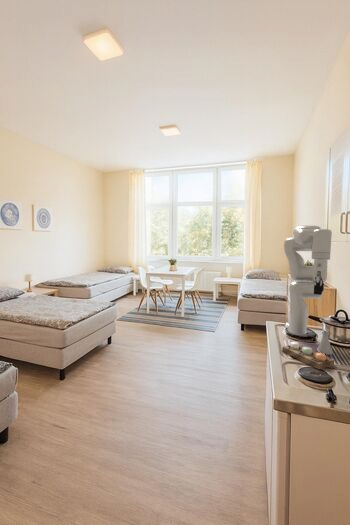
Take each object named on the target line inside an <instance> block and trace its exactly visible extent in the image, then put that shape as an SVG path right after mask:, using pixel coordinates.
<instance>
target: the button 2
mask: <svg viewBox="0 0 350 525" xmlns="http://www.w3.org/2000/svg"><path fill="white" fill-rule="evenodd" d="M312 350H313V349H312V348H311V347H308V346H303V348H302V353H303V354H305V355H307V356H309V355H312Z"/></svg>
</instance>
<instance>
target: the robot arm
mask: <svg viewBox="0 0 350 525" xmlns="http://www.w3.org/2000/svg"><path fill="white" fill-rule="evenodd" d="M293 236H294V237H288V238H286V239H285V240H284V243H283V249H284V253H285V256H286V258H287V261H288V266H289V275H290V278H291V280H292V281H293V282H291V283H290V285H289V286H288V287H289V288H288V290H289V299H290V302H289V319H288V320H289V321H288V323H285V324H284V328H287V330H289V331H290V332H292V333H294V334H301V335H303V334H306V333H308V314H309V304H308V303H307V302H306V300H305V299H311V300H313V299H314V300H317V299H319V300H320V299H321V298H322V297H323V295H324V288H325V283H324V282H326V281H327V280H328V260H329V261H330V260H331V251H332V250H331V248H332V230H331V229H329V228H324V229H323V228H321V227H320V226H319V225H299V226H298V225H297V227H295V228H294V230H293ZM299 252H311V259H312V260H313V265H306V264H305V260H304V257H303V256H302V255H301V254H300V253H299Z"/></svg>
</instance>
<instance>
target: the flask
mask: <svg viewBox="0 0 350 525" xmlns="http://www.w3.org/2000/svg"><path fill="white" fill-rule="evenodd" d="M321 334H322V336H321V337H322V338H321V339H320V342H319V344H318V346H317V348H318V350H319V351H320V352H321V353H324V354H326V356H330V355H331V356H333V350H332V346H331V343H330V340H329V335H330V332H327V331H322V332H321Z"/></svg>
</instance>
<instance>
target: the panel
mask: <svg viewBox="0 0 350 525" xmlns="http://www.w3.org/2000/svg"><path fill="white" fill-rule="evenodd" d="M281 347H282V348H281V349H282V350H281V352H282V353H284V354H287V356H288V355H289V356H290V357H292V356H293V357H292V358H295V359H297V360H298V361H301V362H302V363H304V364H307V366H308V365H309V366H310V367H312V368H314V367H315V368H314V369H316V368H318V369H319V370H322V369H326V368H328V367H333V366H335V359H334V358H331V357H330V356H326V361H325V362H320V361H318V360H316V359H315V357H316V353H318V352H317V351H314V350H313V349H312V355H309V356H307V355H305V354H303V353H302V348H303V347H304V346H303V345H301V344H299V349H297V350H294V349H292V348H290V344H287V345H283V346H281ZM318 369H317V370H318Z"/></svg>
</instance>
